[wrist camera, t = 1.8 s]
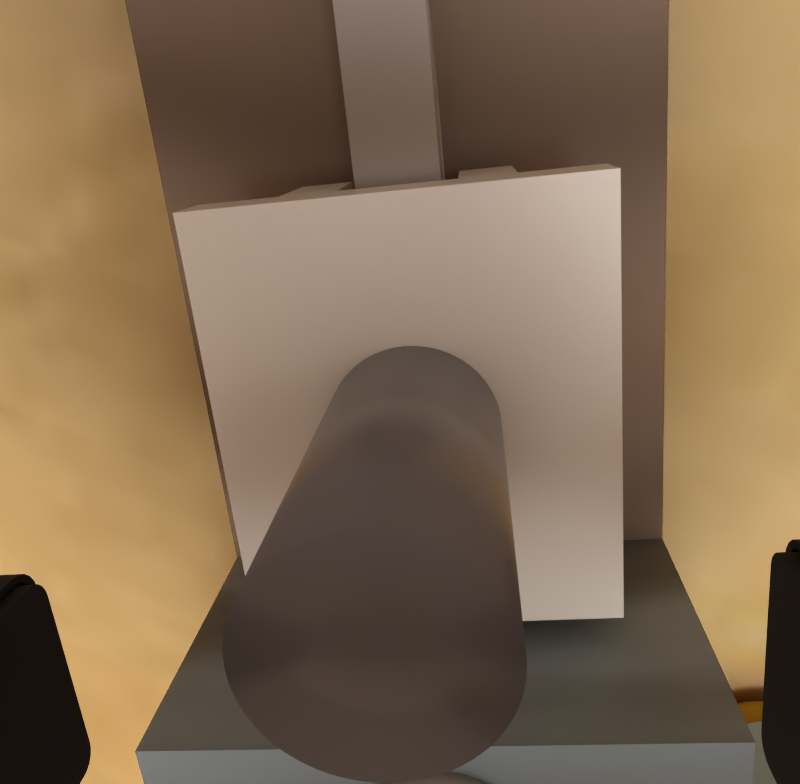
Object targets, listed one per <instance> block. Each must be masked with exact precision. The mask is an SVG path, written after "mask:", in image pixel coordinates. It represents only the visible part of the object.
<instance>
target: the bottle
mask: <svg viewBox="0 0 800 784" xmlns="http://www.w3.org/2000/svg"><path fill="white" fill-rule="evenodd" d="M738 705H739V708H740V710H741V712H742V714H743V716H744V719H745V721H746V723H747V725H748V727H749V729H750V732H751V734H752V736H753V738H754V740H755V757H754V773H753V784H777V783H776V781H775V779H774V777H773V775H772V773H771V770H770V768H769V766H768V763H767V761H766V758H765V754H764V750H763V745H762V737H761V728H762V710H763V701H744V702H740V703H738Z"/></svg>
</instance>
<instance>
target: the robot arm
mask: <svg viewBox="0 0 800 784" xmlns="http://www.w3.org/2000/svg"><path fill="white" fill-rule="evenodd" d="M761 737H762V745H763V750H764V754H765V758H766V761H767V763H768V766H769V768H770V770H771V773H772V775H773V777H774V779H775V781H776V783H777V784H800V539H799V540H792V541H790V542H789V544H788V546H787V548H786V552H781V553H775V554H774V555H773V558H772V562H771V574H770V591H769V608H768V625H767V642H766V659H765V676H764V693H763V710H762V728H761ZM90 752H91V748H90V742H89V738H88V735H87V731H86V728H85V724H84V721H83V717H82V714H81V710H80V707H79V703H78V700H77V696H76V693H75V689H74V686H73V682H72V679H71V676H70V672H69V669H68V665H67V662H66V658H65V655H64V651H63V648H62V644H61V641H60V637H59V634H58V630H57V627H56V623H55V620H54V616H53V613H52V609H51V606H50V602H49V599H48V596H47V593H46V591H45V589H44V588H43V587H42V586H40V585H36V584H35V582H34V580H33V579H32V578H31V577H30V576H27V575H25V574H18V575H0V784H80V782H81V780H82V779H83V777H84V775H85V773H86V771H87V769H88V765H89V761H90Z"/></svg>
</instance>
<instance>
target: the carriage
mask: <svg viewBox="0 0 800 784" xmlns="http://www.w3.org/2000/svg"><path fill="white" fill-rule="evenodd" d="M173 217H174V222H175V227H176V232H177V237H178V242H179V247H180V252H181V257H182V262H183V267H184V272H185V277H186V282H187V287H188V292H189V297H190V302H191V307H192V312H193V317H194V322H195V327H196V333H197V338H198V343H199V348H200V353H201V358H202V363H203V368H204V373H205V378H206V383H207V388H208V393H209V398H210V403H211V408H212V413H213V418H214V423H215V428H216V433H217V438H218V443H219V448H220V453H221V458H222V463H223V468H224V473H225V478H226V483H227V488H228V493H229V498H230V503H231V508H232V513H233V518H234V523H235V528H236V533H237V538H238V543H239V548H240V553H241V558H242V563H243V568H244V573H245V578H244V580H243V582H242V584H241V586H240V588H239V590H238V592H237V594H236V596H235V598H234V600H233V602H232V604H231V606H230V609H229V612H228V615H227V618H226V621H225V626H224V632H223V642H222V655H223V662H224V669H225V672H226V676H227V679H228V683H229V686H230V688H231V690H232V692H233V694H234V697H235V699H236V701H237V702H238V704H239V706H240V707H241V709H242V710H243V712H244V714H245V715H246V716H247V718H248V719H249V720H250V721H251V722H252V724H253V725H254V726H255V727H256V728H257V729H258V730H259V731H260V732H261V733H262V734H263V735H264V736H265V737H266V738H267V739H268V740H269V741H270V742H272V743H273V744H274V745H276V746H277V747H278V748H279V749H281V750H282V751H283V752H285V753H287V754H288V755H290V756H292V757H293V758H295V759H297V760H298V761H300V762H302V763H304V764H306V765H308V766H311V767H313V768H315V769H317V770H320V771H323V772H326V773H329V774H331V775H335V776H339V777H343V778H347V779H351V780H357V781H364V782H374V783H399V782H410V781H416V780H422V779H427V778H431V777H434V776H438V775H441V774H444V773H447V772H449V771H451V770H454V769H456V768H459V767H461V766H462V765H464V764H466V763H468V762H470V761H471V760H473V759H475V758H476V757H478V756H479V755H480V754H482V753H483V752H484V751H486V750H487V749H488V748H489V747H490V746H491V745H492V744H493V743H494V742H495V741H496V740H497V739H499V738H500V736H501V735H502V734H503V732H504V731H505V730H506V729H507V727H508V726H509V725H510V723H511V721H512V720H513V718H514V716H515V714H516V712H517V710H518V708H519V705H520V703H521V700H522V697H523V694H524V689H525V683H526V678H527V658H526V648H525V639H524V630H523V621H538V620H568V619H598V618H624V575H623V435H622V294H621V168H619V167H616V166H613V165H610V164H597V165H587V166H577V167H567V168H557V169H547V170H538V171H528V172H517V171H516V170H515V169H514V168H513V166H512V165H511V166H501V167H491V168H481V169H472V170H462V171H459V175H458V179H449V180H439V181H429V182H419V183H409V184H399V185H389V186H380V187H370V188H360V189H353V185H352V182H345V183H335V184H325V185H316V186H306V187H301V188H298V189H296V190H294V191H291V192H289V193H286V194H284V195H281V196H279V197H271V198H261V199H251V200H241V201H231V202H222V203H212V204H202V205H196V206H193V207H190V208H187V209H184V210H180V211H177V212H174V213H173Z"/></svg>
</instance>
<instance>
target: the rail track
mask: <svg viewBox="0 0 800 784" xmlns="http://www.w3.org/2000/svg"><path fill="white" fill-rule="evenodd" d="M125 2H126V7H127V12H128V17H129V22H130V27H131V32H132V37H133V42H134V47H135V52H136V57H137V62H138V67H139V72H140V76H141V81H142V86H143V91H144V96H145V101H146V106H147V111H148V116H149V121H150V126H151V131H152V136H153V141H154V146H155V151H156V156H157V161H158V166H159V171H160V176H161V181H162V186H163V191H164V196H165V201H166V206H167V211H168V215H169V220H170V225H171V230H172V235H173V240H174V245H175V250H176V255H177V260H178V265H179V270H180V275H181V280H182V285H183V290H184V295H185V300H186V305H187V310H188V315H189V320H190V325H191V330H192V335H193V340H194V345H195V350H196V354H197V359H198V364H199V369H200V374H201V379H202V384H203V389H204V394H205V399H206V404H207V409H208V414H209V419H210V424H211V429H212V434H213V439H214V444H215V449H216V454H217V459H218V464H219V469H220V474H221V479H222V484H223V489H224V494H225V498H226V503H227V508H228V513H229V518H230V523H231V528H232V533H233V538H234V543H235V548H236V553H237V560H236V561H235V563H234V565H233V567H232V569H231V571H230V573H229V575H228V577H227V579H226V580H225V582H224V584H223V586H222V588H221V590H220V592H219V594H218V596H217V598H216V599H215V601H214V603H213V605H212V607H211V609H210V611H209V613H208V615H207V617H206V618H205V620H204V622H203V624H202V626H201V628H200V630H199V632H198V634H197V635H196V637H195V639H194V641H193V643H192V645H191V647H190V649H189V651H188V653H187V654H186V656H185V658H184V660H183V662H182V664H181V666H180V668H179V670H178V672H177V673H176V675H175V677H174V679H173V681H172V683H171V685H170V687H169V689H168V691H167V692H166V694H165V696H164V698H163V700H162V702H161V704H160V706H159V708H158V709H157V711H156V713H155V715H154V717H153V719H152V721H151V723H150V725H149V727H148V728H147V730H146V732H145V734H144V736H143V738H142V740H141V742H140V744H139V746H138V747H137V749H136V751H135V752H136V756H137V759H138V763H139V766H140V770H141V774H142V777H143V781H144V784H753V773H754V757H755V740H754V738H753V736H752V734H751V732H750V729H749V727H748V725H747V723H746V721H745V719H744V716H743V714H742V712H741V710H740V708H739V705H738V703H737V701H736V699H735V697H734V695H733V692H732V690H731V688H730V686H729V684H728V681H727V679H726V677H725V675H724V673H723V671H722V668H721V666H720V664H719V662H718V660H717V657H716V655H715V653H714V651H713V649H712V647H711V644H710V642H709V640H708V638H707V636H706V633H705V631H704V629H703V627H702V625H701V622H700V620H699V618H698V616H697V614H696V612H695V609H694V607H693V605H692V603H691V601H690V598H689V596H688V594H687V592H686V590H685V588H684V585H683V583H682V581H681V579H680V577H679V574H678V572H677V570H676V568H675V566H674V564H673V561H672V559H671V557H670V555H669V553H668V550H667V548H666V546H665V544H664V542H663V540H662V508H663V427H664V345H665V264H666V182H667V101H668V19H669V0H125ZM597 164H610V165H613V166H616V167H619V168H621V294H622V435H623V575H624V618H598V619H568V620H538V621H523V630H524V639H525V648H526V658H527V678H526V683H525V689H524V694H523V697H522V700H521V703H520V705H519V708H518V710H517V712H516V714H515V716H514V718H513V720H512V721H511V723H510V725H509V726H508V727H507V729H506V730H505V731H504V732H503V734H502V735H501V736H500V738H499V739H497V740H496V741H495V742H494V743H493V744H492V745H491V746H490V747H489V748H488V749H487V750H486V751H484V752H483V753H482V754H480V755H479V756H478V757H476V758H475V759H473V760H471V761H470V762H468V763H466V764H464V765H462V766H461V767H459V768H456V769H454V770H451V771H449V772H447V773H444V774H441V775H438V776H434V777H431V778H427V779H422V780H416V781H410V782H399V783H374V782H364V781H357V780H351V779H347V778H343V777H339V776H335V775H331V774H329V773H326V772H323V771H320V770H317V769H315V768H313V767H311V766H308V765H306V764H304V763H302V762H300V761H298V760H297V759H295V758H293V757H292V756H290V755H288V754H287V753H285V752H283V751H282V750H281V749H279V748H278V747H277V746H276V745H274V744H273V743H272V742H270V741H269V740H268V739H267V738H266V737H265V736H264V735H263V734H262V733H261V732H260V731H259V730H258V729H257V728H256V727H255V726H254V725H253V724H252V722H251V721H250V720H249V719H248V718H247V716H246V715H245V714H244V712H243V710H242V709H241V707H240V706H239V704H238V702H237V701H236V699H235V697H234V694H233V692H232V690H231V688H230V686H229V683H228V679H227V676H226V672H225V669H224V662H223V655H222V642H223V632H224V626H225V621H226V618H227V615H228V612H229V609H230V606H231V604H232V602H233V600H234V598H235V596H236V594H237V592H238V590H239V588H240V586H241V584H242V582H243V580H244V578H245V573H244V568H243V563H242V558H241V553H240V548H239V543H238V538H237V533H236V528H235V523H234V518H233V513H232V508H231V503H230V498H229V493H228V488H227V483H226V478H225V473H224V468H223V463H222V458H221V453H220V448H219V443H218V438H217V433H216V428H215V423H214V418H213V413H212V408H211V403H210V398H209V393H208V388H207V383H206V378H205V373H204V368H203V363H202V358H201V353H200V348H199V343H198V338H197V333H196V327H195V322H194V317H193V312H192V307H191V302H190V297H189V292H188V287H187V282H186V277H185V272H184V267H183V262H182V257H181V252H180V247H179V242H178V237H177V232H176V227H175V222H174V217H173V213H174V212H177V211H180V210H184V209H187V208H190V207H193V206H196V205H202V204H212V203H222V202H231V201H241V200H251V199H261V198H271V197H279V196H281V195H284V194H286V193H289V192H291V191H294V190H296V189H298V188H301V187H306V186H316V185H325V184H335V183H345V182H352V185H353V189H360V188H370V187H380V186H389V185H399V184H409V183H419V182H429V181H439V180H449V179H458V175H459V171H462V170H472V169H481V168H491V167H501V166H511V165H512V166H513V168H514V169H515V170H516V171H517V172H528V171H538V170H547V169H557V168H567V167H577V166H587V165H597Z"/></svg>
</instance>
